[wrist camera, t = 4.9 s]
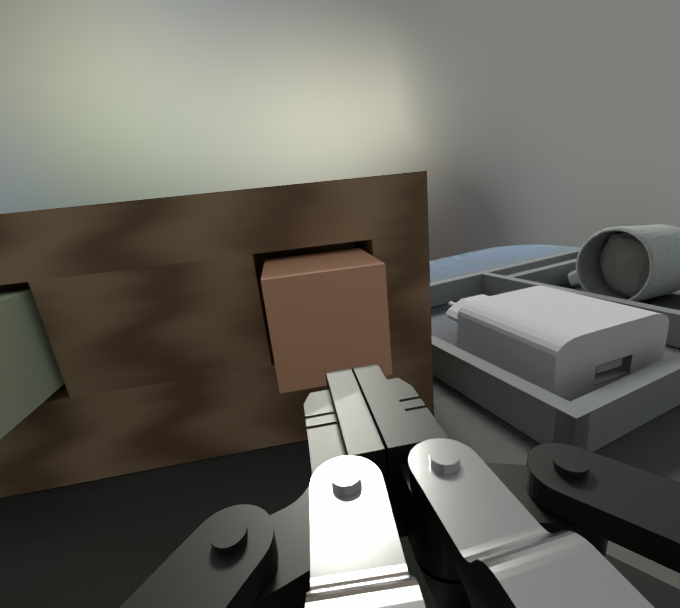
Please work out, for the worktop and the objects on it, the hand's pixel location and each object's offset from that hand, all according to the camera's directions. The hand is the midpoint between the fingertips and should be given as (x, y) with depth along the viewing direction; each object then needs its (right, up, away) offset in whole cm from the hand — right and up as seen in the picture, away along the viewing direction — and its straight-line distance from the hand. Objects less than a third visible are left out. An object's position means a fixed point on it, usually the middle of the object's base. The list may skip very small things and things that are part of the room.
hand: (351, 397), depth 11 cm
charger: (+14, -1, +19) cm, 24 cm away
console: (-9, -5, +14) cm, 17 cm away
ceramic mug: (+29, +3, +29) cm, 41 cm away
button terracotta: (-1, 0, +8) cm, 8 cm away
